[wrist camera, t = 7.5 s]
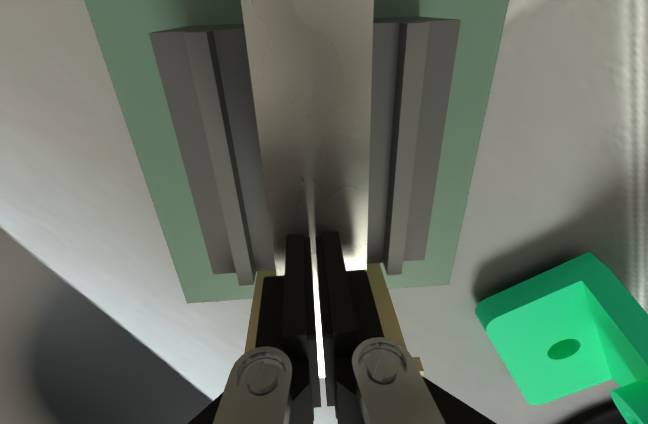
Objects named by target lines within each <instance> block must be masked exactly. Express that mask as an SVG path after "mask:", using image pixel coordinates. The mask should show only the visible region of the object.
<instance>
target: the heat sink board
mask: <svg viewBox="0 0 648 424" xmlns="http://www.w3.org/2000/svg"><path fill="white" fill-rule="evenodd" d="M84 1H85V3H86V6H87V9H88V12H89V15H90V18H91V21H92V24H93V27H94V30H95V33H96V36H97V39H98V42H99V45H100V48H101V51H102V54H103V57H104V59H105V62H106V65H107V68H108V71H109V74H110V77H111V80H112V83H113V86H114V89H115V92H116V95H117V98H118V101H119V104H120V107H121V110H122V113H123V115H124V118H125V121H126V124H127V127H128V130H129V133H130V136H131V139H132V142H133V145H134V148H135V151H136V154H137V157H138V160H139V163H140V166H141V169H142V172H143V174H144V177H145V180H146V183H147V186H148V189H149V192H150V195H151V198H152V201H153V204H154V207H155V210H156V213H157V216H158V219H159V222H160V225H161V228H162V230H163V233H164V236H165V239H166V242H167V245H168V248H169V251H170V254H171V257H172V260H173V263H174V266H175V269H176V272H177V275H178V278H179V281H180V284H181V286H182V289H183V292H184V295H185V298H186V301H187V303H198V302H212V301H226V300H240V299H253V302H252V308H251V315H250V321H249V328H248V334H247V340H246V347H245V353H247V352H248V351H250V350H252V349H255V343H256V335H257V327H258V319H259V311H260V303H261V294H262V286H263V280H264V277H268V276H277V274H276V267H275V259H274V251H273V244H272V236H271V228H270V221H269V213H268V205H267V198H266V190H265V182H264V175H263V167H262V159H261V152H260V144H259V136H258V129H257V121H256V113H255V106H254V98H253V91H252V83H251V75H250V68H249V60H248V52H247V45H246V37H245V29H244V22H243V14H242V6H241V0H84ZM508 3H509V0H374V9H373V46H372V83H371V120H370V158H369V195H368V232H367V269H366V272H367V275H368V278H369V282H370V286H371V289H372V293H373V297H374V300H375V304H376V308H377V311H378V315H379V319H380V322H381V326H382V330H383V334H384V337H385V338H388V339H392V340H394V341H396V342H398V343H400V344H401V345H402V346H403V347H405V348H406V345H405V342H404V339H403V336H402V332H401V329H400V326H399V323H398V320H397V317H396V313H395V310H394V307H393V304H392V301H391V298H390V294H389V291H388V289H394V288H408V287H422V286H436V285H449V284H450V279H451V274H452V269H453V265H454V260H455V255H456V250H457V246H458V241H459V236H460V231H461V227H462V222H463V217H464V212H465V208H466V203H467V198H468V193H469V189H470V184H471V179H472V174H473V170H474V165H475V160H476V155H477V150H478V146H479V141H480V136H481V131H482V127H483V122H484V117H485V112H486V108H487V103H488V98H489V93H490V89H491V84H492V79H493V74H494V70H495V65H496V60H497V55H498V51H499V46H500V41H501V36H502V32H503V27H504V22H505V17H506V13H507V8H508ZM406 349H407V348H406ZM245 353H244V354H245ZM413 360H414V362H415V364H416V366H417V368H418V370H419V372H420V374H421V376H423V373H424V370H423V367H422V364H421V361H420V358H419V357H414V358H413Z"/></svg>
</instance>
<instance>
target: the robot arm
mask: <svg viewBox="0 0 648 424" xmlns="http://www.w3.org/2000/svg"><path fill="white" fill-rule="evenodd" d="M315 240H316V257H317V274H318V291H319V307H320V320H321V333H322V345H323V358H324V371H325V383H326V396H327V406H335V412H336V418H337V419H338V424H496V423H495V422H493V421H492V420H490V419H488V418H487V417H485V416H484V415H482V414H481V413H479V412H477V411H476V410H474V409H473V408H471V407H470V406H468V405H467V404H465V403H463V402H462V401H460V400H459V399H457V398H456V397H454V396H452V395H451V394H449V393H448V392H446V391H445V390H443V389H442V388H440V387H438V386H437V385H435V384H434V383H432V382H431V381H429V380H427V379H426V378H424V377H423V376H421V374H420V372H419V370H418V368H417V366H416V364H415V362H414V360H413V358H412V356H411V355H410V354H409V352H408V351H407V349H406V348H405V347H403V346H402V345H401V344H400V343H398V342H396V341H394V340H392V339H388V338H385V337H384V334H383V330H382V326H381V322H380V319H379V315H378V311H377V308H376V304H375V300H374V297H373V293H372V289H371V286H370V282H369V278H368V275H367V272H366V270H365V269H364V270H350V271H346V268H345V262H344V257H343V252H342V247H341V242H340V237H339V232H338V231H329V232H322V236H321V237H315ZM315 407H321V397H320V382H319V366H318V350H317V334H316V318H315V302H314V287H313V272H312V257H311V243H310V237H306V238H304V235H303V233H299V234H287V235H286V254H285V275H282V276H268V277H264V280H263V286H262V294H261V303H260V311H259V319H258V327H257V335H256V343H255V349H252V350H250V351H248V352H247V353H245V354H244V355H242V356H241V357H240V358H239V359H238V360H237V361H236V362H235V364H234V366H233V368H232V370H231V372H230V375H229V378H228V381H227V384H226V386H225V389H224V392H223V393H222V394H221V395H220V396H219V397H217V398H216V399H215V400H214V401H213V402H212V403H211V404H209V405H208V406H207V407H206V408H205V409H204V410H203V411H202V412H200V413H199V414H198V415H197V416H196V417H195V418H194V419H193V420H191V421H190V422H189V423H188V424H313V421H314V408H315Z"/></svg>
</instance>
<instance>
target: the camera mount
mask: <svg viewBox="0 0 648 424" xmlns="http://www.w3.org/2000/svg"><path fill="white" fill-rule="evenodd" d="M475 314H476V316H477V317H478V319H479V321H480V323H481V324H482V326H483V328H484V330H485V331H486V333H487V335H488V336H489V338H490V340H491V342H492V343H493V345H494V347H495V348H496V350H497V352H498V353H499V355H500V357H501V358H502V360H503V362H504V363H505V365H506V367H507V368H508V370H509V372H510V373H511V375H512V377H513V379H514V380H515V382H516V384H517V385H518V387H519V389H520V390H521V392H522V394H523V395H524V397H525V399H526V400H527V402H528V403H529V404H531V405H541V404H544V403H547V402H550V401H553V400H555V399H558V398H561V397H564V396H567V395H569V394H572V393H575V392H578V391H580V390H583V389H586V388H589V387H591V386H594V385H597V384H600V383H602V382H605V381H608V380H611V379H613V380H614V381H615V382H616V383H617V384H618V385H619V386H621V387H620V388H617V389H614V390H611V391H610V393H611V396H612V399H613V401H614V402H615V404H616V406H617V408H618V409H619V411H620V413H621V414H622V416H623V417H624V419H625V420H626V422H627V423H628V424H648V314H647V313H646V312H645V311H644V309H643V308H642V307H641V306H640V305H639V303H638V302H637V301H636V300H635V299H634V297H633V296H632V295H631V294H630V293H629V291H628V290H627V289H626V288H625V287H624V285H623V284H622V283H621V282H620V281H619V279H618V278H617V277H616V276H615V275H614V273H613V272H612V271H611V270H610V269H609V268H608V267H607V266H606V265H605V264H604V263H602V262H601V261H600V260H599V259H598V258H596V257H595V256H594V255H593V254H592V253H590V252H587V253H585V254H583V255H581V256H579V257H576V258H574V259H572V260H570V261H568V262H565V263H563V264H561V265H559V266H557V267H554V268H552V269H550V270H548V271H546V272H543V273H541V274H539V275H537V276H535V277H532V278H530V279H528V280H526V281H524V282H521V283H519V284H517V285H515V286H513V287H510V288H508V289H506V290H504V291H502V292H499V293H497V294H495V295H493V296H491V297H488V298H486V299H484V300H483V301H481V302H480V303H479V304H478V305H477V307H476V309H475Z"/></svg>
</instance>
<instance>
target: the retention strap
mask: <svg viewBox="0 0 648 424" xmlns="http://www.w3.org/2000/svg"><path fill="white" fill-rule="evenodd" d="M241 6H242V14H243V22H244V29H245V37H246V45H247V52H248V60H249V68H250V75H251V83H252V91H253V98H254V106H255V113H256V121H257V129H258V136H259V144H260V152H261V159H262V167H263V175H264V182H265V190H266V198H267V205H268V213H269V221H270V228H271V236H272V244H273V251H274V259H275V267H276V274H277V276H282V275H285V254H286V235H287V234H299V233H303V235H304V238H306V237H310V243H311V257H312V272H313V287H314V302H315V318H316V334H317V350H318V366H319V378H322V377H325V371H324V358H323V345H322V333H321V320H320V307H319V291H318V274H317V257H316V240H315V237H321V236H322V232H329V231H338V232H339V237H340V242H341V247H342V252H343V257H344V262H345V268H346V271H350V270H364V269H365V270H366V269H367V232H368V195H369V158H370V120H371V83H372V46H373V9H374V0H241Z"/></svg>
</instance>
